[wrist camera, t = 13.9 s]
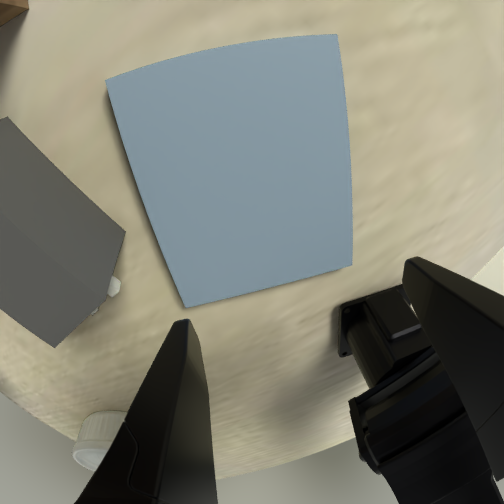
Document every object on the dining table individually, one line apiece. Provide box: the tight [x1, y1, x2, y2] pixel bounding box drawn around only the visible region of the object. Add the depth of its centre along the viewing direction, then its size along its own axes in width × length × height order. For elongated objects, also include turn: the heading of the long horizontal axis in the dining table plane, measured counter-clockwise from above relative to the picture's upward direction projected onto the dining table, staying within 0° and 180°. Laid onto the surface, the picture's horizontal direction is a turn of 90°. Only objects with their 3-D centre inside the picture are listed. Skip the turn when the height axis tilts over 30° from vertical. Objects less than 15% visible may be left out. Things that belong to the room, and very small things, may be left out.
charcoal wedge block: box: [0, 117, 126, 348], centre depth 13 cm, size 11×5×6 cm, turn 37°
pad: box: [105, 34, 353, 308], centre depth 16 cm, size 14×11×1 cm
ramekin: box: [72, 411, 127, 472], centre depth 27 cm, size 11×11×5 cm
